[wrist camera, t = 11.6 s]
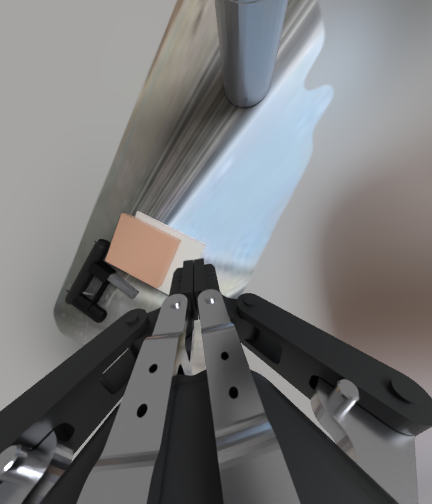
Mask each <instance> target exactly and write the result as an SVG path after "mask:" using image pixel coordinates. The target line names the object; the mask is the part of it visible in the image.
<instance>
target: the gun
mask: <svg viewBox="0 0 432 504" xmlns="http://www.w3.org/2000/svg"><path fill="white" fill-rule="evenodd" d="M95 242H96V241H95ZM109 246H110V242H108V241H107V240H104V239H99V240H98V242H96V243H95V245H94V247H93V249H92V250H91V252H90V254H89V256H88V258H87V259H86V261H85V263H84V265H83V267H82V269H81V270H80V272H79V274H78V276H77V278H76V280H75V281H74V283H73V285H72V287H71V289H70V291H68V290H67V291H68V294H67V296H66V298H65V301H66V303H68V304H72V305H73V306H75V307H76V308H78V309H79V310H80V311H82V312H83V313H84V314H86V315H87V316H88V317H90V318H91V319H93V320H94V321H95V322H97V323H99V322H102V321H103V320H104V319H105V318H106V316H107V312H106V311H105V310H104V309H102V308H101V307H100V306H98V305H97V302H98V301H99V299H100V297H101V296H102V294H103V292H104V291H105V289H106V287H107V286H108V284H109V282H111V283H112V284H113V285H115V286H116V287H117V288H119V289H120V290H122V291H123V292H124V293H126V294H127V295H128V296H130V297H131V298H132V299H133V298H135V297H136V296H137V294H138V293H139V291H137V290H136V289H135V288H134V287H132V286H131V285H130V284H129V283H127V282H126V281H125V280H124V279H122V278H121V277H120V276H118V275H117V274H116V271H115V270H114V269H113V268H112V267H110V266H109V265H108V264H107V263H105V262H104V261H103V258H104V257H105V255H106V253H107V251H108V250H109ZM93 276H96V277H97V278H98V279H100V280H101V281H103V283H102V285H101V287H100V288H99V290H98V292H97V294H96V295H95V293H88V292H85V290H86V288H87V286H88V285H89V283H90V281H91V279H92V278H93ZM83 294H86V295H95V297H94V299H93V300H92V301H91V300H90V299H89V298H87V297H86V296H85V295H83Z"/></svg>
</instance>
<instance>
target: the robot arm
mask: <svg viewBox="0 0 432 504" xmlns="http://www.w3.org/2000/svg"><path fill="white" fill-rule="evenodd" d="M287 4H288V0H215V8H216V17H217V27H218V36H219V45H220V54H221V64H222V73H223V82H224V90H225V94H226V96H227V98H228V99H229V101H230V102H231V103H232V104H234V105H236V106H239V107H250V106H253V105H255V104H257V103H258V102H260V101H261V100H262V99H263V98H264V97H265V96H266V94H267V93H268V91H269V88H270V86H271V82H272V77H273V72H274V67H275V62H276V58H277V53H278V48H279V43H280V38H281V33H282V29H283V24H284V19H285V14H286V9H287ZM198 316H199V320H200V322H201V329H202V330H201V331H202V339H203V347H204V355H205V362H206V370H204V371H202V372H200V373H198V374H196V375H193V376H192V356H193V343H194V320H198ZM241 343H242V344H243V345H244V346H246V347H247V348H248V349H249V350H250V351H252V352H253V353H254V354H255V355H257V356H258V357H259V358H260V359H261V360H263V361H264V362H265V363H266V364H267V365H269V366H270V367H271V368H272V369H274V370H275V371H276V372H277V373H279V374H280V375H281V376H282V377H283V378H284V379H286V380H287V381H288V382H289V383H291V384H292V385H293V386H294V387H295V388H297V389H298V390H299V391H300V392H302V393H303V394H304V395H305V396H306V397H308V398H309V399H310V400H311V406H312V410H313V412H314V415H315V417H316V418H317V420H318V421H319V423H320V424H321V425H322V427H323V428H324V429H325V430H326V431H327V432H328V433H329V434H330V435H331V436H332V438H333V439H334V441H335V442H336V444H335V443H334V442H333V441H332V440H331V439H330V438H329V437H328V436H327V435H326V434H325V433H324V432H322V430H321V429H320V428H318V427H317V426H316V425H315V424H314V423H313V422H312V421H311V420H310V419H309V418H308V417H307V416H306V415H305V414H304V413H303V412H301V411H300V410H299V409H298V408H297V407H296V406H295V405H294V404H293V403H292V402H291V401H290V400H289V399H288V398H287V397H286V396H285V395H284V394H282V393H281V392H280V391H279V390H278V389H277V388H276V387H275V386H274V385H273V384H272V383H271V382H270V381H269V380H267V379H266V378H265V377H263V376H262V375H260V374H258V373H257V372H254V371H252V370H250V368H249V365H248V362H247V360H246V357H245V354H244V351H243V348H242V345H241ZM127 348H129V349H128V350H127V351H126V352H125V353H124V354H123V355H122V356H121V357H120V358H119V359H118V360H117V361H116V362H115V363H114V364H113V365H112V366H111V367H110V368H109V369H108V370H107V371H106V372H105V373H104V374H102V373H103V372H104V371H105V370H106V369H107V368H108V367H109V366H110V365H111V364H112V363H113V362H114V361H115V360H116V359H117V358H118V357H119V356H120V355H121V354H122V353H123V352H124V351H125V350H126V349H127ZM123 395H124V396H123ZM122 397H123V399H122V401H121V403H120V404H119V405H118V406H117V407H116V408H115V409H114V410H113V412H112V413H111V414H110V415H109V417H108V418H107V419H106V420H105V421H104V423H103V424H102V425H101V427H100V428H99V429H98V430H97V432H96V433H95V434H94V436H92V438H91V439H90V440H89V442H88V443H87V444H86V445H85V446H84V448H83V449H82V450H81V451H80V453H79V454H78V455H77V457H76V458H75V459H74V460H73V461H72V457H73V454H74V453H75V452H76V451H77V450H78V448H79V447H80V446H81V445H82V444H83V443H84V442H85V440H86V439H87V438H88V437H89V436H90V434H91V433H92V432H93V431H94V430H95V428H96V427H97V426H98V425H99V424H100V423H101V421H102V420H103V419H104V418H105V417H106V415H107V414H108V413H109V412H110V411H111V410H112V408H113V407H114V406H115V405H116V403H117V402H118V401H119V400H120V399H121V398H122ZM430 427H432V398H431V397H430V396H429V395H428V393H426V391H425V390H424V389H423V388H422V387H421V386H419V385H418V384H417V383H416V382H415V381H413V380H412V379H410V378H409V377H407V376H406V375H404V374H402V373H400V372H399V371H397V370H395V369H393V368H391V367H389V366H387V365H385V364H384V363H382V362H380V361H378V360H376V359H374V358H373V357H371V356H369V355H367V354H365V353H363V352H361V351H359V350H358V349H356V348H354V347H352V346H350V345H348V344H347V343H345V342H343V341H341V340H339V339H337V338H335V337H334V336H332V335H330V334H328V333H326V332H324V331H322V330H320V329H318V328H317V327H315V326H313V325H311V324H309V323H307V322H306V321H304V320H302V319H300V318H298V317H296V316H294V315H293V314H291V313H289V312H287V311H285V310H283V309H281V308H279V307H278V306H276V305H274V304H272V303H270V302H268V301H267V300H264V299H263V298H261V297H259V296H257V295H255V294H251V293H245V294H242V295H240V296H239V297H238V299H231V298H227V297H225V296H223V295H222V294H221V292H220V290H219V285H218V280H217V276H216V271H215V267H214V266H213V265H212V264H206V265H204V259H203V258H202V259H194V260H186V261H183V268H177V269H176V270H175V271H174V273H173V278H172V283H171V288H170V293H169V297H168V298H166V299H165V300H164V302H163V304H162V307H160V308H159V309H157V310H154V311H152V312H149V313H147V312H146V311H145V310H143V309H134V310H131V311H129V312H127V313H126V314H124V315H123V316H122V317H120V318H119V319H118V320H117V321H115V322H114V323H113V324H111V325H110V326H109V327H108V328H106V329H105V330H104V331H103V332H101V333H100V334H99V335H97V336H96V337H95V338H94V339H92V340H91V341H90V342H88V343H87V344H86V345H85V346H83V347H82V348H81V349H80V350H78V351H77V352H76V353H75V354H73V355H72V356H71V357H69V358H68V359H67V360H65V361H64V362H63V363H62V364H61V365H59V366H58V367H57V368H55V369H54V370H53V371H52V372H50V373H49V374H48V375H46V376H45V377H44V378H42V379H41V380H40V381H39V382H37V383H36V384H35V385H33V386H32V387H31V388H30V389H28V390H27V391H26V392H24V393H23V394H22V395H21V396H19V397H18V398H17V399H16V400H14V401H13V402H12V403H11V404H9V405H8V406H7V407H6V408H4V409H3V410H2V411H0V504H418V491H417V474H416V457H415V441H414V440H415V437H416V435H418V434H420V433H422V432H423V431H425V430H427V429H429V428H430ZM71 461H72V463H71Z"/></svg>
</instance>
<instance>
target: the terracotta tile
mask: <svg viewBox="0 0 432 504" xmlns="http://www.w3.org/2000/svg"><path fill="white" fill-rule="evenodd" d="M180 242H181V240H180V239H178V238H176V237H174V236H172V235H170V234H168V233H166V232H164V231H162V230H160V229H158V228H156V227H154V226H152V225H150V224H148V223H146V222H144V221H142V220H140V219H138V218H136V217H134V216H132V215H130V214H126V213H122V214H121V216H120V219H119V222H118V225H117V228H116V231H115V234H114V237H113V239H112V242H111V245H110V248H109V251H108V254H107V257H106V259H105V261H106V262H108V263H110V264H112V265H114V266H116V267H117V268H119V269H121V270H123V271H125V272H127V273H129V274H130V275H132V276H134V277H136V278H138V279H140V280H142V281H143V282H145V283H147V284H149V285H151V286H153V287H154V288H156V289H157V288H158V287H160V286H162V284H163V282H164V279H165V277H166V275H167V272H168V270H169V268H170V265H171V263H172V261H173V258H174V256H175V254H176V251H177V249H178V247H179V244H180Z"/></svg>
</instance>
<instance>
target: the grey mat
mask: <svg viewBox="0 0 432 504" xmlns="http://www.w3.org/2000/svg"><path fill="white" fill-rule="evenodd" d="M135 217H136V218H138V219H140V220H142V221H144V222H146V223H148V224H150V225H152V226H154V227H156V228H158V229H160V230H162V231H164V232H166V233H168V234H170V235H172V236H174V237H176V238H178V239H180V240H181V242H180V244H179V247H178V249H177V251H176V254H175V256H174V258H173V261H172V263H171V265H170V268H169V270H168V272H167V275H166V277H165V279H164V282H163V284H162V286H160V287H158V288H157V289H158V290H160V291H162V292H164V293H166V294H168V295H169V293H170V288H171V283H172V278H173V273H174V271H175V270H176V269H177V268H183V261H186V260H194V259H200V257H201V254H202V252H203V250H204V248H205V246H206V244H204V243H202V242H200V241H198V240H196V239H194V238H192V237H190V236H188V235H186V234H184V233H182V232H180V231H178V230H176V229H174V228H172V227H170V226H168V225H166V224H164V223H162V222H160V221H158V220H156V219H153V218H151V217H149V216H147V215H145V214H143V213H141V212H139V211H137V213H136V216H135Z"/></svg>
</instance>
